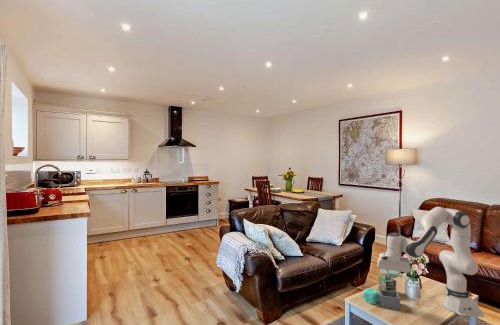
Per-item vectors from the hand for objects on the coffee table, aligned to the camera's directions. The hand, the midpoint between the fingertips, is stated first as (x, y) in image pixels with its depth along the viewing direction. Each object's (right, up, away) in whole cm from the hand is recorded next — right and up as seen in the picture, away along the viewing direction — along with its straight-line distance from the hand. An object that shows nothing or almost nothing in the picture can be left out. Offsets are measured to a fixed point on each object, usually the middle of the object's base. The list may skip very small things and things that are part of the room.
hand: (392, 276), depth 187 cm
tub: (+2, -24, +9) cm, 26 cm away
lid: (+1, -1, +5) cm, 5 cm away
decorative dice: (-9, -24, +14) cm, 29 cm away
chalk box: (+9, -24, +26) cm, 37 cm away
